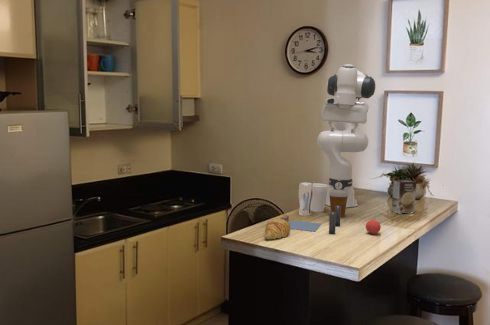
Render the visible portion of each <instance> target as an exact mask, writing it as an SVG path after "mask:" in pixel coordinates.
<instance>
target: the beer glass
mask: <svg viewBox="0 0 490 325" xmlns="http://www.w3.org/2000/svg"><path fill="white" fill-rule="evenodd" d="M313 183H314V182H313ZM313 183H312V182H305V181H304V182H299V184H298V185H299V186H298V202H299V210H298V215H300V216H304V217H305V216H306V217H307V216H308V217H309V216H312V211H311V203H312V198H313Z"/></svg>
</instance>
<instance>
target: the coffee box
mask: <svg viewBox="0 0 490 325" xmlns="http://www.w3.org/2000/svg"><path fill="white" fill-rule="evenodd" d="M416 191H417V181H414V180H410V179H394V180H393V189H392V198H391V199H392V200H391V212H392V211H393V212H392V213H394V212H395V213H394V214H396V213H398V214H397V215H403V214H402V213H411V212H414V213H415V205H416V204H415V202H416V195H417V194H416Z"/></svg>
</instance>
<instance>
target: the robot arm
mask: <svg viewBox="0 0 490 325" xmlns="http://www.w3.org/2000/svg"><path fill="white" fill-rule="evenodd" d="M336 72H337V73H335V74H333V75H332V76H330V77H329V78H328V79H327V81H326V84H325V88H326V92H327V94H328V95H329V96H332V97H330V98H326V99H325V100H324V105H323V107H322V109H321V114H320V119H321V121H323V122H327V123H328V124H327V125H328V126H329V128H330V129H329V130H324V131H321V132H320V133H319V134H318V136H317V139H316V140H317V142H316V144H317V146H318V148H319V149H320V150H322V152H324V154H325V155H326V157H327V159H328V161H329V167H330V168H329V170H330V172H329V179H328V191H327V196H326V202H325V206H329V207H330V196H329V191H330V190H333V189H340V190H346V191H348V194H349V195H348V198H347V203H346V208H355V207H356V206H357V207H358V206H359V204H358V201H357V199H356V196H355V190H354V188H353V178H352V176H353V164H352V162H351V161H350V160H349V159H347V158H345V157H343V156H342V155H341V153H361V152H364V151H366V149H367V148H368V146H369V138H368V135H367V134H366V133H365V132H364V131H362V130H360V128H359V127H358V126H359V124H364V125H365V124H366V123H367V121H368V120H367V119H368V118H367V117H368V114H367V113H368V112H369V105H368V103H366V102H358V101H360V99H362V98H363V99H370V98H371V97H372V96H374V94H375V91H376V87H377V86H376V81H375V79H374V77H372V76H368V75H367V74H366V73H364V72H362V71H360V70H358V69H357V67H356V66H355V65H354V64H351V63H347V64H346V63H345V64H343V65H342V66H340V67H339V69H338V70H337V71H336ZM356 100H357V101H356ZM332 124H333V126H334V127H333V126H332ZM335 129H336V130H335Z"/></svg>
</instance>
